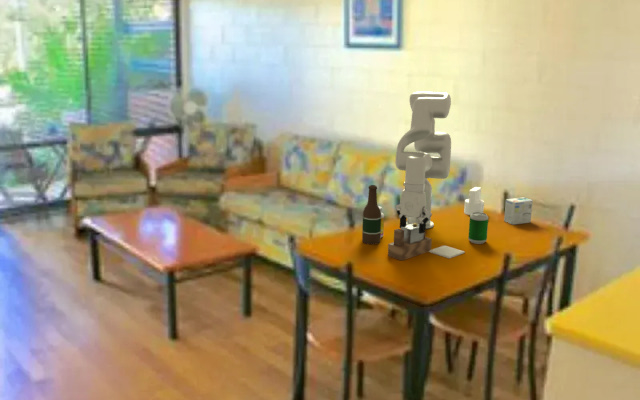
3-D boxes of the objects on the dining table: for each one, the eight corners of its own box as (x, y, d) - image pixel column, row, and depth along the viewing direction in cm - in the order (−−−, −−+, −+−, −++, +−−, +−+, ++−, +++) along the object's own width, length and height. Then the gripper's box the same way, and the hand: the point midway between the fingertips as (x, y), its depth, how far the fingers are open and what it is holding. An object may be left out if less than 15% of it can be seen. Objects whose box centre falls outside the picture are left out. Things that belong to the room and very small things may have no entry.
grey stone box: (410, 244, 261) (411, 227, 259) (400, 241, 265) (401, 224, 263) (423, 240, 266) (424, 223, 265) (413, 237, 270) (414, 221, 268)
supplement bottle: (385, 237, 285) (387, 208, 282) (371, 239, 283) (372, 209, 280) (379, 233, 291) (380, 204, 288) (365, 234, 289) (366, 205, 286)
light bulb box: (521, 218, 316) (523, 196, 313) (531, 222, 310) (533, 200, 307) (503, 221, 311) (505, 198, 309) (512, 225, 306) (514, 202, 303)
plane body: (401, 260, 258) (402, 233, 255) (387, 255, 263) (388, 229, 260) (430, 250, 270) (432, 224, 267) (417, 246, 275) (418, 220, 272)
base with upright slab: (479, 216, 318) (481, 192, 315) (461, 213, 323) (463, 189, 320) (485, 212, 326) (487, 188, 323) (467, 209, 330) (469, 185, 327)
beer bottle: (382, 240, 282) (384, 184, 276) (377, 245, 275) (379, 188, 269) (364, 238, 284) (366, 182, 278) (359, 243, 277) (361, 187, 271)
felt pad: (428, 252, 268) (428, 250, 268) (444, 246, 274) (444, 245, 274) (449, 258, 261) (449, 256, 261) (464, 252, 267) (464, 251, 267)
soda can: (486, 245, 277) (489, 217, 274) (468, 243, 279) (470, 216, 276) (486, 239, 284) (488, 212, 281) (468, 238, 286) (470, 211, 283)
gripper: (391, 185, 264) (389, 227, 268) (426, 192, 251) (423, 236, 255) (403, 182, 269) (401, 223, 273) (438, 190, 256) (435, 233, 260)
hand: (412, 230), depth 264 cm, fingers open, 9 cm apart
